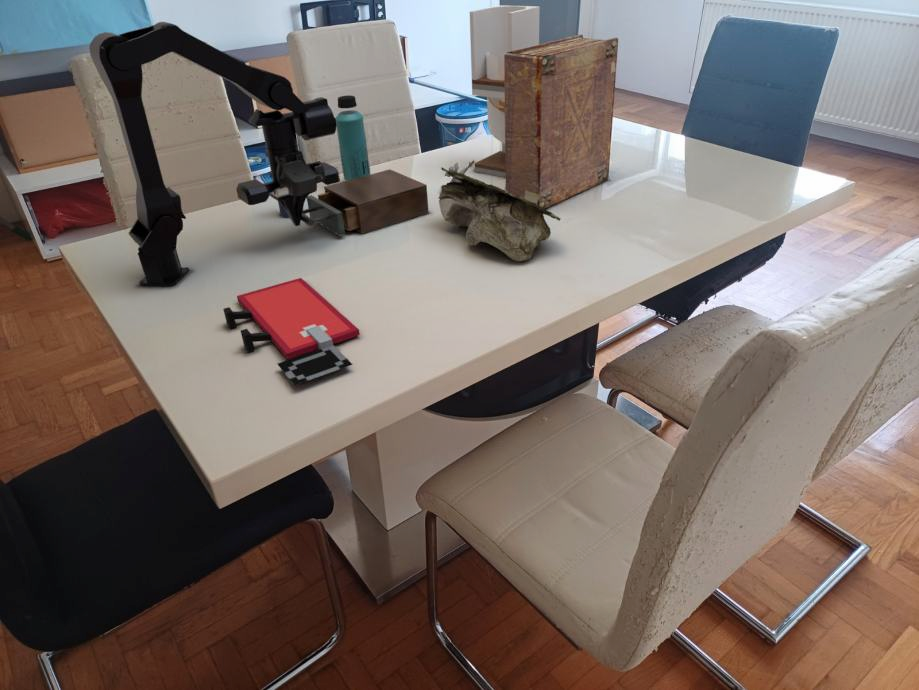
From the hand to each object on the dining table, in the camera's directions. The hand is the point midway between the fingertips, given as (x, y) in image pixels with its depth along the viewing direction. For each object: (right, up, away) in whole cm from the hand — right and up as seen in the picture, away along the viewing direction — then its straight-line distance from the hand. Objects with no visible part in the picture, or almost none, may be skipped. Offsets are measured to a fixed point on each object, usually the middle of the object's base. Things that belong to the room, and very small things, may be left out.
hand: (297, 225), depth 132 cm
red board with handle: (+7, -22, -30) cm, 37 cm away
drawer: (+9, +2, +6) cm, 11 cm away
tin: (-4, +5, +13) cm, 14 cm away
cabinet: (+15, +4, +10) cm, 18 cm away
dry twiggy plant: (+33, +11, +19) cm, 40 cm away
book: (+54, +10, +17) cm, 58 cm away
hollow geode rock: (+38, -3, -3) cm, 39 cm away
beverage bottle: (+8, +14, +27) cm, 32 cm away
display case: (+43, +19, +32) cm, 57 cm away
